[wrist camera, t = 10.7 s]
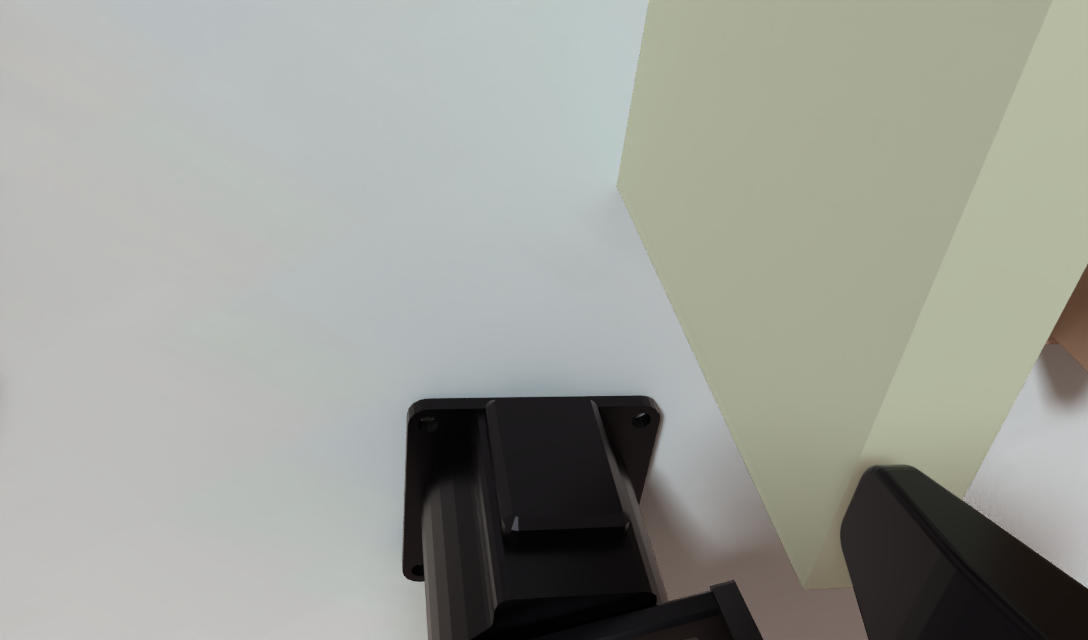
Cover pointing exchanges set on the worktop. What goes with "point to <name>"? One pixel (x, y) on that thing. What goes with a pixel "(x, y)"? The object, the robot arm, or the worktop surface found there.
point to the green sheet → (860, 228)
